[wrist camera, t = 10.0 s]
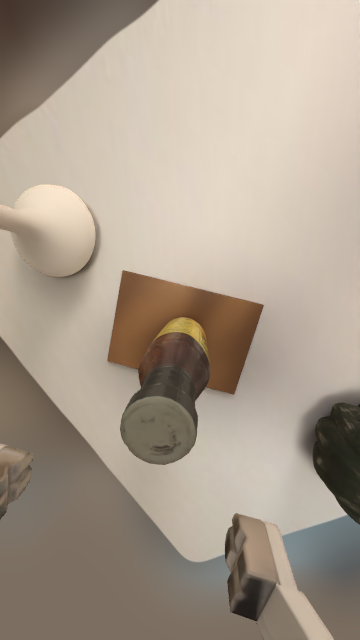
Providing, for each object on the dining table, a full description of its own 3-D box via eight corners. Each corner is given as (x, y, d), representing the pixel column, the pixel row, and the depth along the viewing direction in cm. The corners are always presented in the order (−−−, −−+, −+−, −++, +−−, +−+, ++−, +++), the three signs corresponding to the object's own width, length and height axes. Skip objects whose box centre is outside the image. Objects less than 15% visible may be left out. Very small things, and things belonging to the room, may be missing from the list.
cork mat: (263, 304, 28) (263, 305, 28) (233, 393, 31) (234, 394, 31) (123, 270, 29) (122, 270, 29) (108, 360, 32) (107, 361, 32)
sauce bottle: (197, 361, 31) (193, 509, 11) (157, 348, 31) (85, 470, 11) (212, 320, 29) (237, 409, 10) (170, 307, 29) (112, 366, 10)
